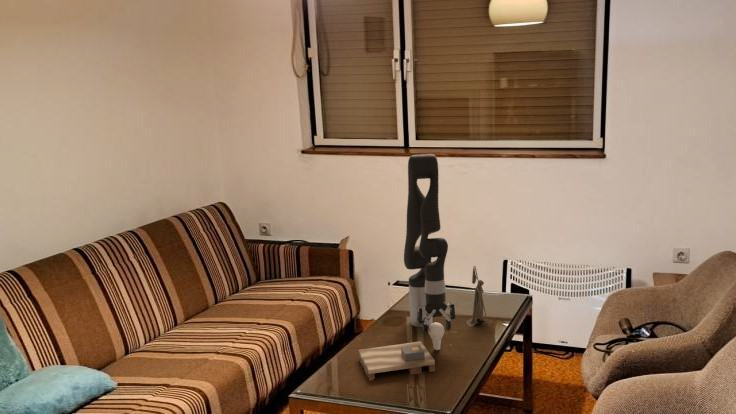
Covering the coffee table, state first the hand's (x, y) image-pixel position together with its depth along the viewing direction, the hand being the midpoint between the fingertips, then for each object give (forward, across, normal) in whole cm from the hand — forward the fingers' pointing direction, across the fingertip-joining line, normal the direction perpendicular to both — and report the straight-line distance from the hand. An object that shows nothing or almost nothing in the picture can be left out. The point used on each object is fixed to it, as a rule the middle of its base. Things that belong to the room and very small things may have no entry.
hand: (436, 331), depth 269 cm
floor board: (+8, +18, +7) cm, 21 cm away
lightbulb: (+8, 0, -1) cm, 8 cm away
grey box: (+4, +13, +12) cm, 18 cm away
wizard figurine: (+8, -24, -22) cm, 33 cm away
